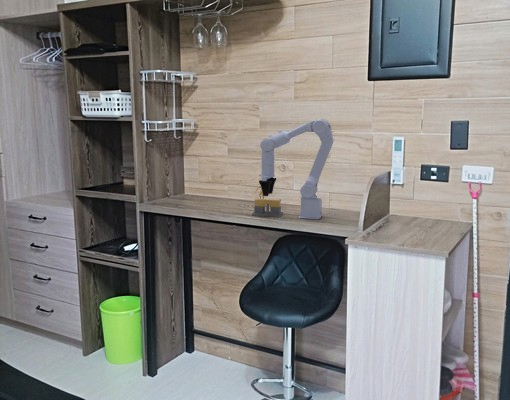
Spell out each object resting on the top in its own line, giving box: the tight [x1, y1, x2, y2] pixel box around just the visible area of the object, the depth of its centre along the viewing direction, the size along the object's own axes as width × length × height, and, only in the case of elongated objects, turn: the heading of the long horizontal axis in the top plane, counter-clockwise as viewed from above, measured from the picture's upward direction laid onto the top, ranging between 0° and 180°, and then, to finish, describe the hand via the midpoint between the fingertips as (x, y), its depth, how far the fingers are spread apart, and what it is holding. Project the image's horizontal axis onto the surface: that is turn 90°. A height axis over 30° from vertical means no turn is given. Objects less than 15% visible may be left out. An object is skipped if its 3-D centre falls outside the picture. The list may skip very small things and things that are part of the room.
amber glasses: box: [254, 197, 282, 208], centre depth 238 cm, size 4×12×3 cm, turn 75°
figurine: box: [254, 185, 270, 199], centre depth 254 cm, size 8×6×12 cm
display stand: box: [251, 204, 284, 218], centre depth 237 cm, size 7×13×5 cm, turn 74°
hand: (267, 194), depth 236 cm, fingers open, 7 cm apart
